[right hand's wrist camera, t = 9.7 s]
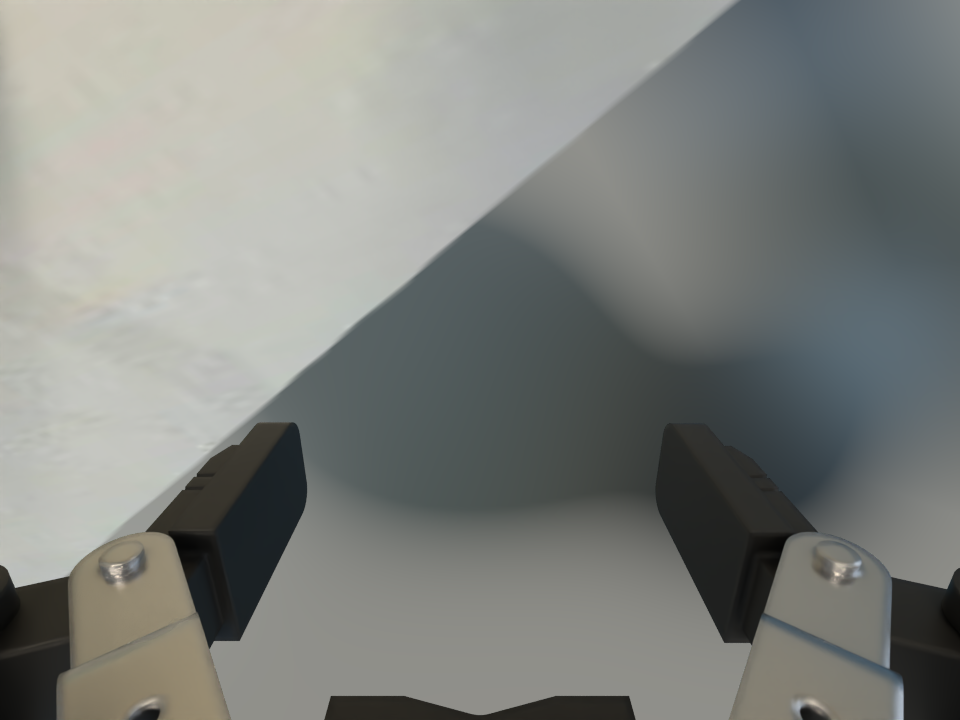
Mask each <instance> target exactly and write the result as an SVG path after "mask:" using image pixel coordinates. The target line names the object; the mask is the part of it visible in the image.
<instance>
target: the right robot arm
mask: <svg viewBox="0 0 960 720" xmlns="http://www.w3.org/2000/svg"><path fill="white" fill-rule="evenodd" d="M306 498H307V481H306V475H305V468H304V461H303V454H302V447H301V440H300V434H299V429H298V427H297V425H296V424H295V423H293V422H291V423H290V422H275V423H274V422H264V423H263V422H262V423H261V422H260V423H257V424H256V425H255V426H254V428H253V429H252V430H251V431H250V432H249V434H248V435H247V436H246V437H245V439H244V440H243V441H242V442H241V443H240V445H231V446H230V447H228V448H226V449H225V450H223V451H222V452H220V453H218V454H217V455H215V456H214V457H212V458H210V460H209V461H208V462H207V463H206V464H205V465H204V466H203V467H202V469H201V470H200V471H199V472H198V473H197V477H194V478H193V479H192V480H191V481H190V482H189V483H188V484H187V486H186V487H185V490H182V491H181V492H180V493H179V494H178V496H177V497H176V498H175V499H174V500H173V501H172V502H171V504H170V505H169V506H168V507H167V508H166V509H165V510H164V511H163V513H162V514H161V515H160V516H159V517H158V518H157V519H156V520H155V522H154V523H153V524H152V525H151V526H150V527H149V528H148V529H147V531H146V532H142V533H135V534H131V535H127V536H124V537H121V538H118V539H115V540H113V541H110V542H108V543H106V544H104V545H102V546H100V547H99V548H97V549H95V550H94V551H92V552H91V553H89V554H88V555H87V556H85V557H84V558H83V559H82V560H81V561H80V562H79V563H78V564H77V565H76V566H75V567H74V569H73V570H72V572H71V574H70V576H69V577H64V578H59V579H55V580H50V581H46V582H41V583H36V584H32V585H27V586H23V587H18V588H15V587H14V584H13V582H12V580H11V577H10V575H9V573H8V570H7V569H6V568H5V567H3V566H1V565H0V720H231V717H230V714H229V711H228V708H227V705H226V701H225V698H224V695H223V692H222V689H221V685H220V682H219V679H218V676H217V672H216V669H215V666H214V663H213V660H212V656H211V653H210V650H209V649H210V647H211V645H212V644H213V642H214V641H240V639H241V637H242V635H243V633H244V631H245V629H246V627H247V625H248V623H249V621H250V619H251V617H252V615H253V613H254V611H255V609H256V607H257V605H258V603H259V600H260V598H261V596H262V594H263V592H264V590H265V588H266V586H267V584H268V582H269V580H270V578H271V576H272V574H273V572H274V570H275V568H276V566H277V564H278V562H279V560H280V558H281V556H282V554H283V552H284V550H285V548H286V546H287V544H288V542H289V540H290V538H291V536H292V534H293V532H294V530H295V528H296V526H297V524H298V522H299V519H300V518H301V516H302V513H303V511H304V508H305V504H306ZM656 501H657V506H658V510H659V513H660V515H661V517H662V519H663V521H664V523H665V525H666V527H667V529H668V531H669V533H670V535H671V537H672V539H673V541H674V543H675V545H676V547H677V549H678V551H679V553H680V555H681V557H682V559H683V561H684V563H685V565H686V567H687V569H688V571H689V573H690V575H691V577H692V579H693V581H694V583H695V585H696V587H697V589H698V591H699V593H700V595H701V597H702V599H703V601H704V603H705V605H706V607H707V609H708V611H709V613H710V615H711V617H712V619H713V621H714V623H715V625H716V627H717V629H718V631H719V633H720V635H721V637H722V639H723V641H724V643H751V645H752V647H751V650H750V653H749V656H748V660H747V663H746V666H745V669H744V673H743V676H742V679H741V682H740V685H739V689H738V692H737V695H736V698H735V701H734V705H733V708H732V711H731V714H730V717H729V720H960V568H958V569H957V570H956V571H955V572H954V575H953V577H952V579H951V582H950V584H949V586H948V589H943V588H938V587H934V586H929V585H924V584H920V583H915V582H911V581H906V580H901V579H897V578H893V577H891V576H890V574H889V572H888V570H887V569H886V567H885V566H884V565H883V564H882V563H881V562H880V561H879V560H878V559H877V558H876V557H875V556H873V555H872V554H871V553H869V552H868V551H866V550H865V549H863V548H861V547H860V546H858V545H856V544H854V543H852V542H850V541H847V540H845V539H842V538H839V537H836V536H833V535H829V534H825V533H818V532H817V531H816V529H815V528H814V527H813V526H812V525H811V524H810V523H809V522H808V521H807V519H806V518H805V517H804V516H803V515H802V514H801V513H800V512H799V510H798V509H797V508H796V507H795V506H794V505H793V504H792V503H791V501H790V500H789V499H788V498H787V497H786V496H785V495H784V494H783V493H782V492H781V491H779V490H778V487H777V486H776V485H775V484H774V482H773V481H772V480H771V479H770V478H767V475H766V474H765V472H764V471H763V470H762V469H761V468H760V467H759V466H758V465H757V463H756V462H755V461H754V460H753V459H751V458H750V457H748V456H747V455H745V454H743V453H742V452H740V451H738V450H737V449H735V448H733V447H732V446H724V445H723V444H722V443H721V442H720V440H719V439H718V438H717V437H716V436H715V434H714V433H713V432H712V431H711V430H710V428H709V427H708V426H707V425H706V424H704V423H669V424H667V426H666V427H665V429H664V433H663V439H662V446H661V453H660V460H659V467H658V473H657V480H656ZM325 720H635V716H634V712H633V709H632V705H631V701H630V698H629V696H554V697H551V698H547V699H543V700H539V701H536V702H532V703H528V704H525V705H521V706H517V707H513V708H510V709H506V710H502V711H499V712H495V713H491V714H487V715H473V714H469V713H465V712H461V711H458V710H454V709H450V708H447V707H443V706H439V705H435V704H432V703H428V702H424V701H421V700H417V699H413V698H409V697H406V696H331V698H330V701H329V705H328V709H327V712H326V716H325Z"/></svg>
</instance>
